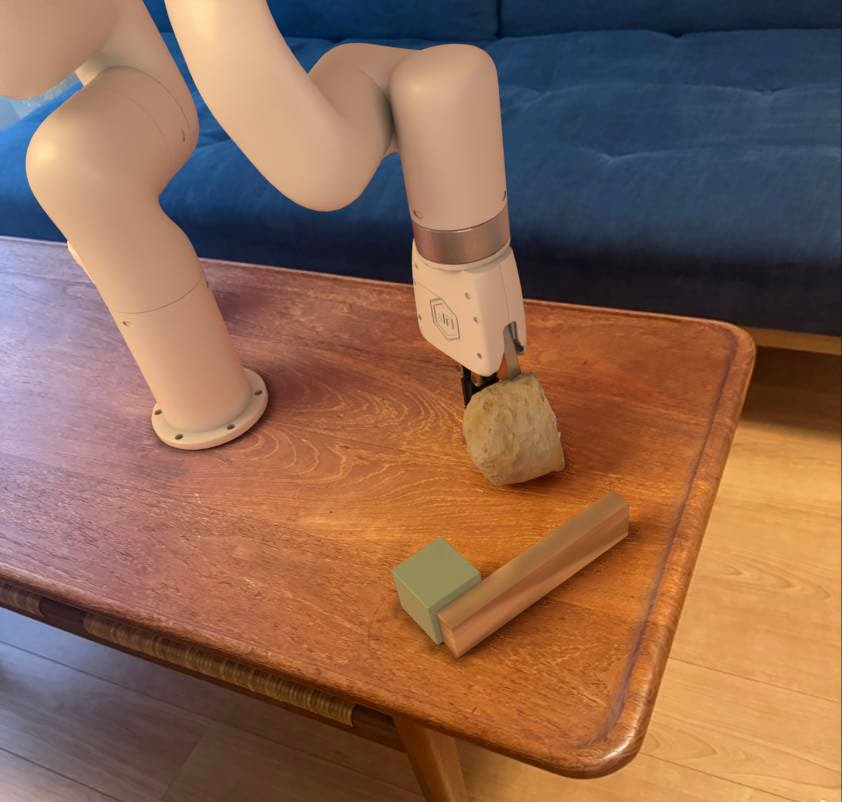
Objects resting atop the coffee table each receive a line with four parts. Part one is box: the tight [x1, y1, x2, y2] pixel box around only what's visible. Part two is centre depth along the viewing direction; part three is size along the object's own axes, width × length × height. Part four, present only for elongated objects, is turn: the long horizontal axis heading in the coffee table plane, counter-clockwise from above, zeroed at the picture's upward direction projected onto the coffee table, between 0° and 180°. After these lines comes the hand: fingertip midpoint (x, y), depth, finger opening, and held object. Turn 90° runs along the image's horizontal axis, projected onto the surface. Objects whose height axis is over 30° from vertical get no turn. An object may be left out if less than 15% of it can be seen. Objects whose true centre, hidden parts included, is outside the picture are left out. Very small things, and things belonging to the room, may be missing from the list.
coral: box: [461, 371, 566, 487], centre depth 72 cm, size 10×10×10 cm
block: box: [390, 536, 483, 646], centre depth 64 cm, size 5×5×5 cm
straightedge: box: [436, 489, 631, 658], centre depth 65 cm, size 2×18×4 cm, turn 126°
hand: (483, 406), depth 78 cm, fingers closed
